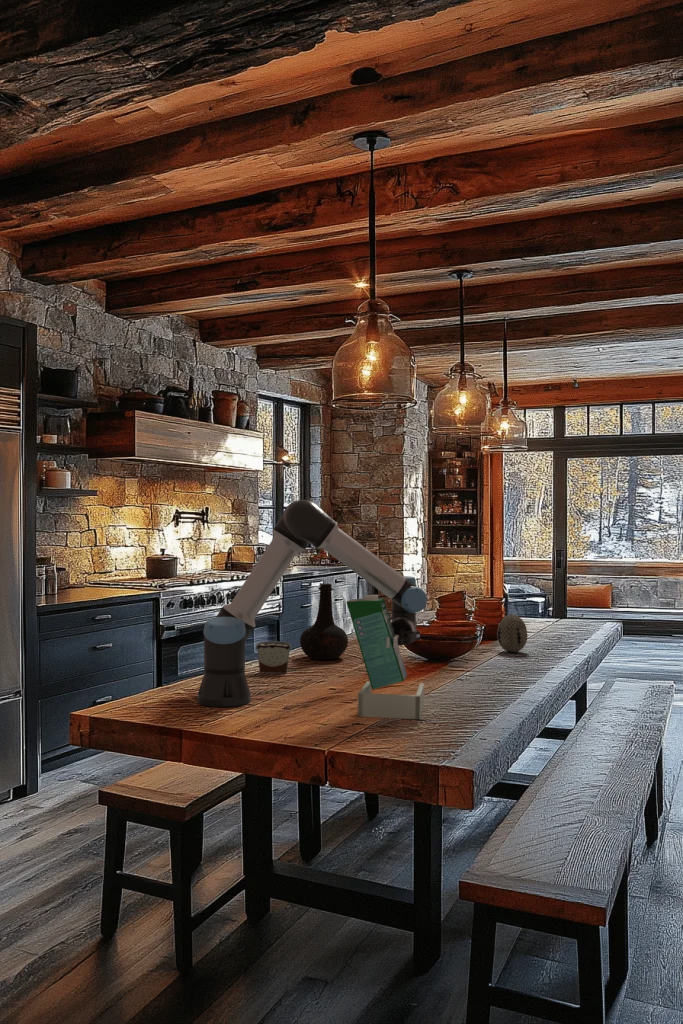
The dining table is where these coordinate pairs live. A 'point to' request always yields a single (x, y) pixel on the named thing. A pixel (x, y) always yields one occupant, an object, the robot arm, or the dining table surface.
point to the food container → (273, 656)
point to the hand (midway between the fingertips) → (391, 643)
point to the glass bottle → (324, 631)
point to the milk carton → (376, 641)
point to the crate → (390, 704)
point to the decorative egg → (512, 633)
